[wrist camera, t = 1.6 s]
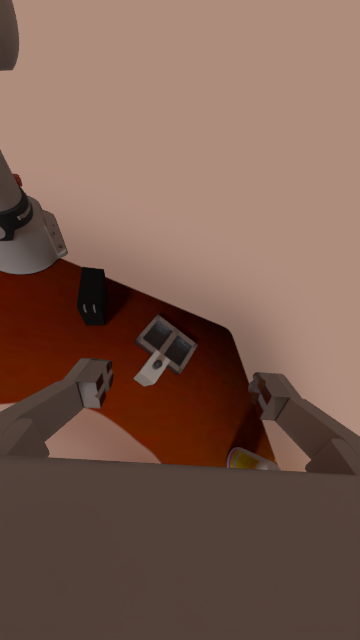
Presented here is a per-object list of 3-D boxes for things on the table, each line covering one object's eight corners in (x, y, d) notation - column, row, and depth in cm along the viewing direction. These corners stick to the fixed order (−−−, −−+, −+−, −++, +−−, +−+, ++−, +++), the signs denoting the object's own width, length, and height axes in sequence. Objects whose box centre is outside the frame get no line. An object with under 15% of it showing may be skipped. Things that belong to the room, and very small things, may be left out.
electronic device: (107, 292, 44) (104, 267, 35) (105, 326, 40) (100, 308, 31) (90, 291, 42) (81, 264, 33) (86, 326, 38) (75, 307, 30)
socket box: (176, 374, 41) (180, 373, 38) (134, 342, 40) (135, 339, 38) (193, 347, 45) (197, 344, 43) (155, 318, 45) (157, 314, 43)
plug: (143, 386, 37) (158, 382, 23) (133, 378, 37) (141, 369, 22) (155, 370, 40) (175, 357, 25) (145, 362, 39) (160, 345, 25)
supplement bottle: (226, 484, 35) (275, 527, 24) (224, 446, 38) (267, 469, 27) (251, 481, 37) (308, 520, 26) (248, 445, 40) (297, 466, 28)
